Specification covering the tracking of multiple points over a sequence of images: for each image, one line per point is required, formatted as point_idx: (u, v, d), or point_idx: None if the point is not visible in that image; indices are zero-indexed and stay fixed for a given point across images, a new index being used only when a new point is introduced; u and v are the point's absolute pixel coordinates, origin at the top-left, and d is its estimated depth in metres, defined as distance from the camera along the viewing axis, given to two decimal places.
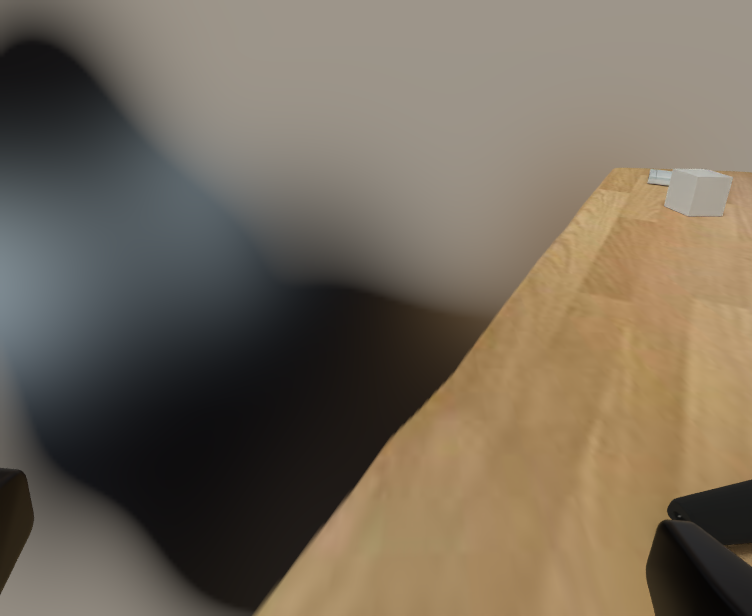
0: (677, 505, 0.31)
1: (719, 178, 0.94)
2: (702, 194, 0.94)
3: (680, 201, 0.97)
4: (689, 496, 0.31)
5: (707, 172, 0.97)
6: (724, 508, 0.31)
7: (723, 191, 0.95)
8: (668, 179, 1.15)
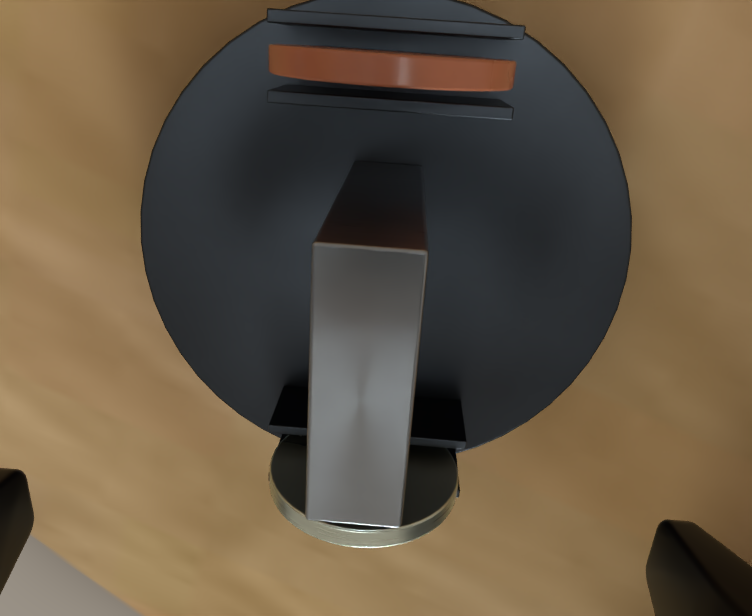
0: None
1: None
2: None
3: None
4: None
5: None
6: None
7: None
8: None
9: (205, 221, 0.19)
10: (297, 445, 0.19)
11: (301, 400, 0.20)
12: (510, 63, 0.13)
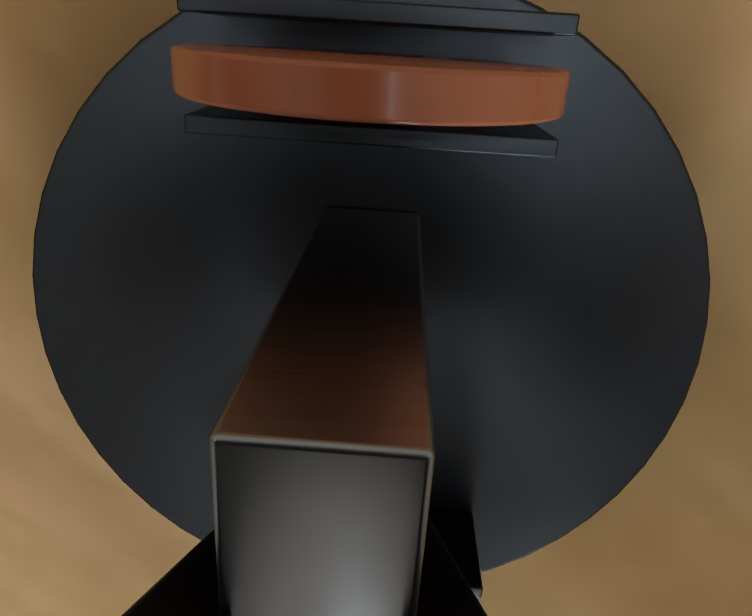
0: None
1: None
2: None
3: None
4: None
5: None
6: None
7: None
8: None
9: (121, 287, 0.14)
10: None
11: None
12: (564, 75, 0.08)
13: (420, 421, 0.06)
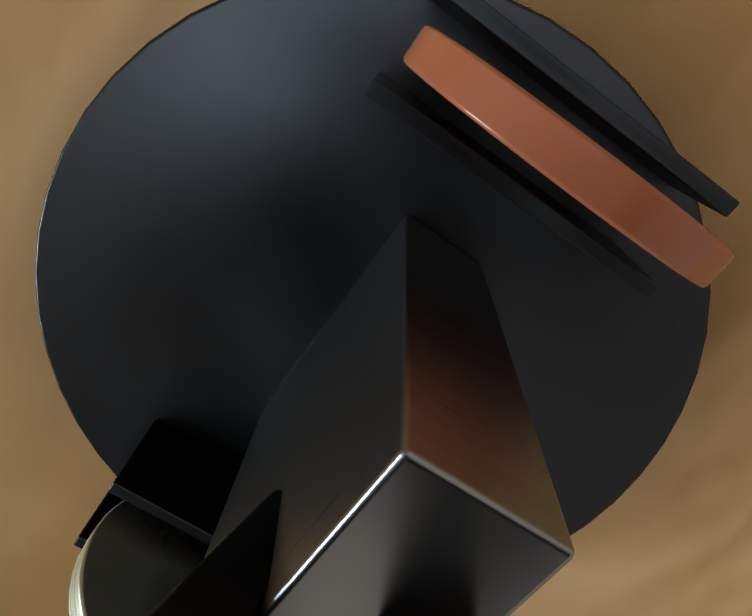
0: None
1: None
2: None
3: None
4: None
5: None
6: None
7: None
8: None
9: (169, 175, 0.13)
10: (137, 520, 0.14)
11: (171, 455, 0.15)
12: None
13: (557, 513, 0.06)
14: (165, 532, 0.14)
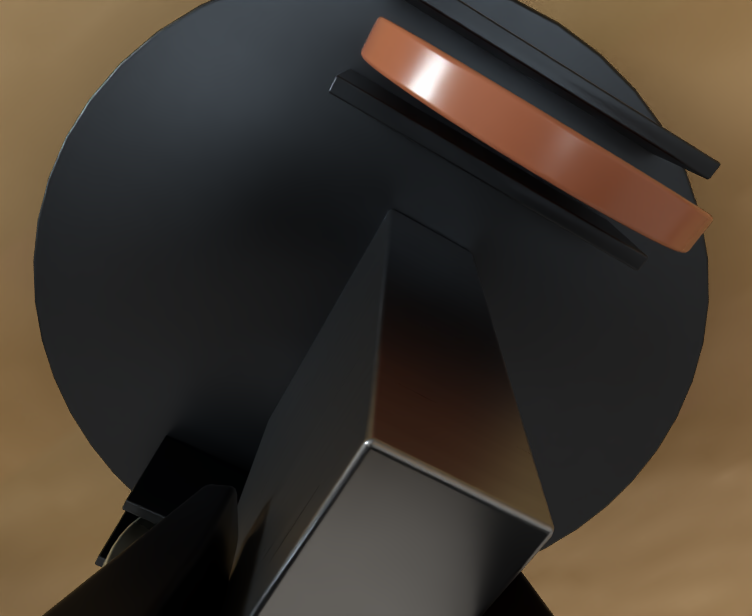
0: None
1: None
2: None
3: None
4: None
5: None
6: None
7: None
8: None
9: (154, 192, 0.13)
10: None
11: (183, 469, 0.15)
12: (711, 221, 0.09)
13: (537, 492, 0.06)
14: None
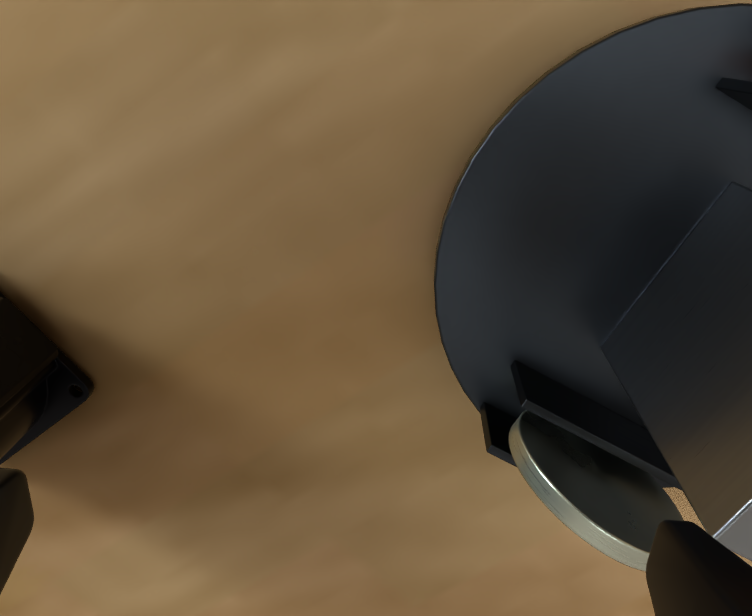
0: None
1: None
2: None
3: None
4: None
5: None
6: None
7: None
8: None
9: (551, 169, 0.18)
10: (536, 429, 0.18)
11: (540, 383, 0.19)
12: None
13: None
14: (554, 437, 0.18)
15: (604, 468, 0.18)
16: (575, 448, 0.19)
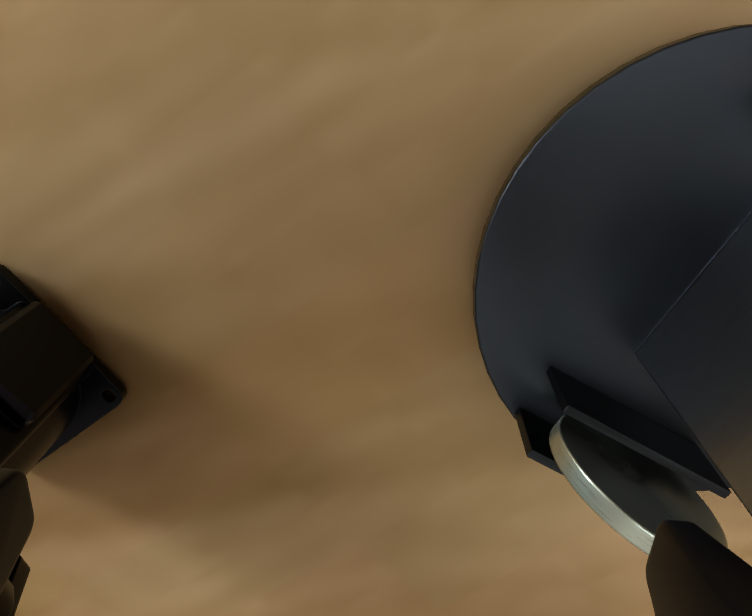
0: None
1: None
2: None
3: None
4: None
5: None
6: None
7: None
8: None
9: (594, 180, 0.18)
10: (576, 434, 0.19)
11: (577, 389, 0.20)
12: None
13: None
14: (593, 442, 0.19)
15: (641, 472, 0.19)
16: (613, 453, 0.19)
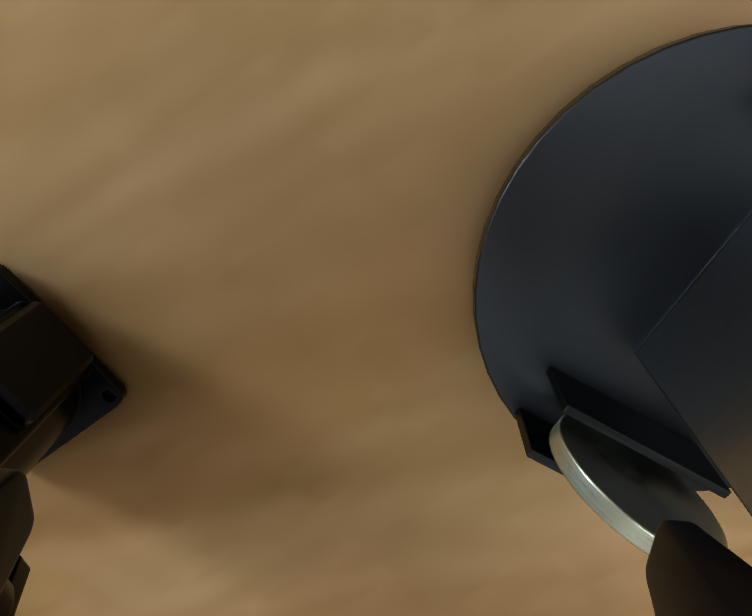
0: None
1: None
2: None
3: None
4: None
5: None
6: None
7: None
8: None
9: (594, 180, 0.18)
10: (576, 434, 0.19)
11: (577, 389, 0.20)
12: None
13: None
14: (593, 442, 0.19)
15: (641, 472, 0.19)
16: (613, 453, 0.19)
